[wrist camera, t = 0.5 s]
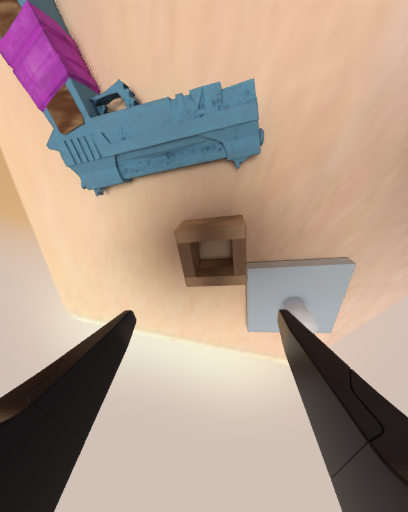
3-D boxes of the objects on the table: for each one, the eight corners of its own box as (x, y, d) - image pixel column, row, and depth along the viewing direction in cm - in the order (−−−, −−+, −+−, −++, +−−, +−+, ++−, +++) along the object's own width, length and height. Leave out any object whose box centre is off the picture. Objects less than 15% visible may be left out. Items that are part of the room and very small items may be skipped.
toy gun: (254, -120, 9) (258, 164, 16) (5, 6, 13) (96, 197, 20) (275, -305, 6) (268, 164, 13) (-81, -58, 9) (68, 203, 16)
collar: (241, 215, 18) (245, 225, 15) (242, 266, 21) (246, 284, 18) (183, 220, 19) (174, 231, 16) (192, 268, 22) (186, 286, 19)
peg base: (347, 257, 19) (388, 286, 14) (325, 324, 25) (349, 361, 20) (246, 262, 21) (252, 289, 16) (246, 323, 27) (251, 357, 22)
